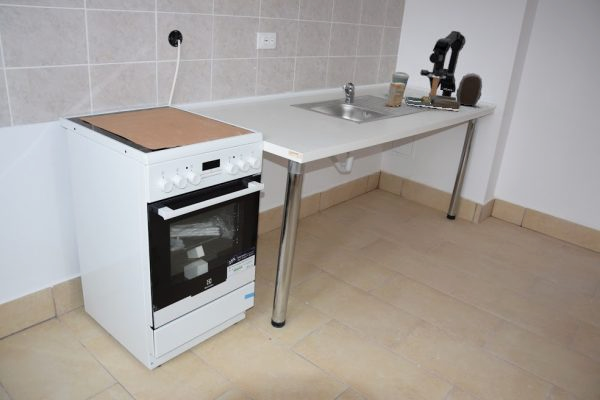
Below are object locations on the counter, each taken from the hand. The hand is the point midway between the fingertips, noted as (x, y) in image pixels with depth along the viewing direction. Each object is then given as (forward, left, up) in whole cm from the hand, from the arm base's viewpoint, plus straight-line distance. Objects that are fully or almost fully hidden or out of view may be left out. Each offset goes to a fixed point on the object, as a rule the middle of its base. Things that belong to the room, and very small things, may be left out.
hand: (433, 88), depth 294 cm
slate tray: (0, -6, -10) cm, 12 cm away
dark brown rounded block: (-17, +25, -10) cm, 32 cm away
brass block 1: (-3, -1, -8) cm, 8 cm away
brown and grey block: (0, 0, -5) cm, 5 cm away
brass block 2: (+3, -1, -8) cm, 8 cm away
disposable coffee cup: (-15, -19, -10) cm, 26 cm away
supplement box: (+13, -23, -10) cm, 28 cm away
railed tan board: (0, +8, -10) cm, 13 cm away
